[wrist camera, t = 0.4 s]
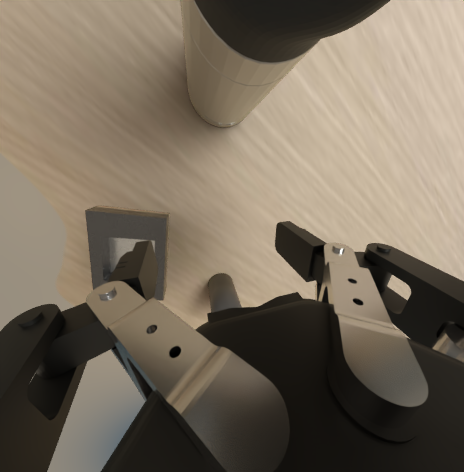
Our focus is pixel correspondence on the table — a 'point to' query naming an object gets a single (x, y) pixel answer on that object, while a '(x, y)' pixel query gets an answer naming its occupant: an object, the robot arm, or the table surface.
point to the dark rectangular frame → (125, 240)
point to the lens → (222, 293)
